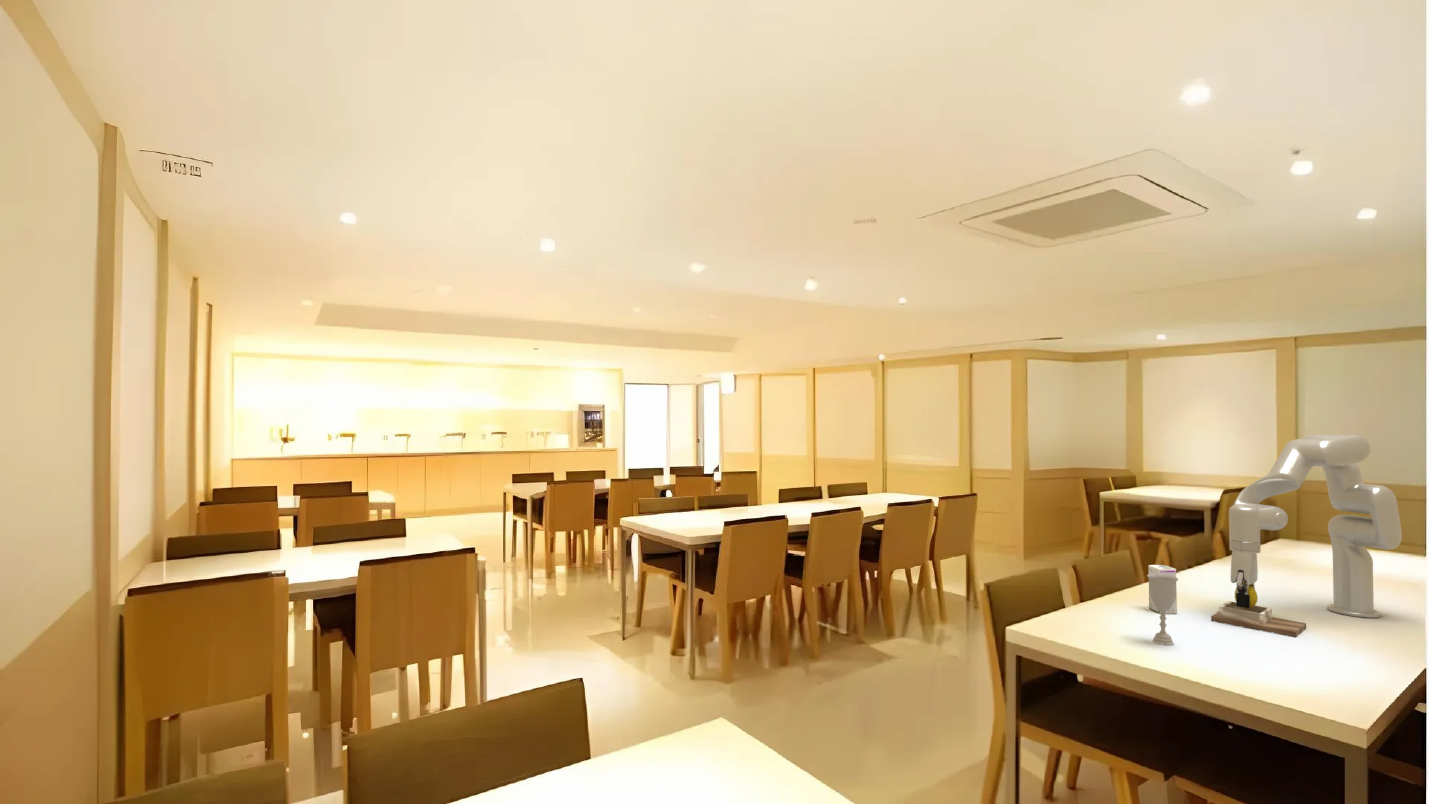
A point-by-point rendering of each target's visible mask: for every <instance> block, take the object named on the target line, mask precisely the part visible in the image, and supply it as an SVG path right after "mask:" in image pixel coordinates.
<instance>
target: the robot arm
mask: <svg viewBox="0 0 1429 804" xmlns="http://www.w3.org/2000/svg"><path fill="white" fill-rule="evenodd" d="M1370 453H1371V445H1370V442H1369V441H1368V440H1367V438H1365V437H1363V436H1361V435H1358V434H1337V433H1336V434H1335V433H1334V434H1333V433H1331V434H1330V433H1314V434H1308V435H1305V436H1304V437H1302V438H1298V439H1297V438H1296V439H1292V440H1290V441H1288V442H1287V443H1286V444H1285V445H1284V447H1283V448H1282V450H1281V451H1280V454H1279V455H1278V457H1277V459H1275V462H1274V463H1273V466H1272V467H1271V469H1270V470H1269V472H1268V474H1266V475H1264V476H1262V477H1261V478H1258V479H1256V480H1255V481H1254V482H1252V483H1250V484H1249V485H1247V486H1245V488H1243V489H1242V490H1241V491H1240V492H1239V493H1238V495H1237V497H1236V499H1235V500H1234V502H1233V504H1232V505H1231V506H1230V507H1229V509H1228V526H1229V527H1228V529H1229V530H1228V531H1229V533H1228V534H1229V538H1228V540H1229V550H1230V551H1232V552H1231V557H1230V558H1231V560H1230V582H1231V583H1232V584H1235V583H1236V584H1235V585H1236V588H1235V590H1236V600H1235V602H1236V605H1237V606H1238V607H1244V608H1250V595H1248V591H1249V585H1250V586H1251V587H1253V588H1254V589H1255V590H1256V587H1255V586H1256V585H1255V583H1256V582H1257V581H1258V573H1259V571H1258V570H1259V569H1258V555H1257V554H1260V553H1261V551H1262V550H1261V530H1265V531H1266V530H1267V531H1278V530H1282V529H1283V528H1284V529H1285V527H1286V526H1287V524H1288V523H1289V517H1288V514H1287V512H1286V511H1285V510H1284V509H1282V508H1281V507H1278V506H1275V505H1266V504H1261V502H1262V501H1264V500H1266V499H1268V498H1271V497H1275V496H1277V495H1282V494H1287V493H1290V492H1293V491H1297V490H1299V489H1300V488H1301V487H1302V485H1303V483H1304V482H1305V480H1306V478H1307V476H1308V475H1309V473H1310V470H1311V469H1312V468H1313V467H1321V468H1322V469H1323V471H1324V475H1325V480H1326V487H1327V488H1326V489H1327V492H1328V497H1329V502H1330V505H1331V506H1332V508H1334V509H1335V510H1337V511H1342V512H1348V513H1357V514H1364V515H1355V514H1338V515H1337V514H1336V515H1335V516H1334V515H1333V516H1332V518H1330V520H1329V521H1328V524H1327V530H1328V534H1329V539H1330V542H1331V544H1330V545H1331V550H1332V551H1331V552H1332V582H1333V583H1332V585H1333V586H1332V590H1333V591H1332V593H1333V603H1332V604H1331V603H1329V604H1327V605H1326V607H1327V610H1329V611H1330V612H1334V613H1336V614H1340V615H1346V616H1351V617H1358V618H1368V619H1369V618H1370V619H1376V618H1377V619H1378V618H1381V616H1382V613H1381V612H1380V611H1379V610H1376V609H1374V607H1375V603H1374V599H1375V597H1374V560H1373V557H1372V555H1371V554H1370V552H1369V551H1368V549H1367V548H1374V549H1378V550H1379V549H1381V550H1393V549H1396V548H1398V547H1399V546H1400V544H1401V543H1402V538H1403V533H1402V525H1401V517H1400V512H1399V507H1398V506H1399V505H1398V501H1397V498H1396V495H1395V494H1394V492H1393V491H1392V490H1391V489H1390V488H1388V487H1387V486H1384V485H1381V484H1370V483H1365V482H1364V481H1363V479H1362V474H1361V469H1360V467H1359V464H1358V463H1361V462H1362V461H1364V460H1366V459H1367V458H1368V457H1369V455H1370ZM1365 515H1369V516H1365ZM1244 583H1246V584H1244ZM1243 586H1246V589H1245V587H1243Z"/></svg>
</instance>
